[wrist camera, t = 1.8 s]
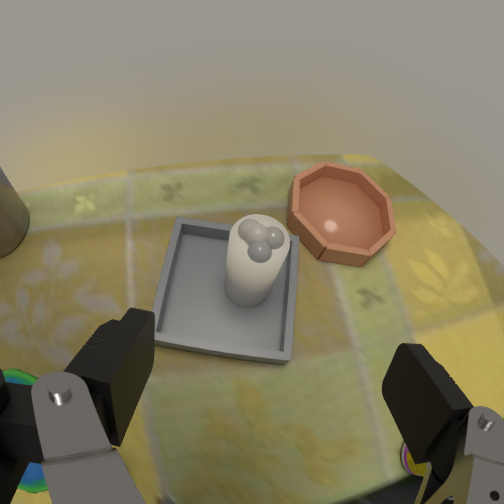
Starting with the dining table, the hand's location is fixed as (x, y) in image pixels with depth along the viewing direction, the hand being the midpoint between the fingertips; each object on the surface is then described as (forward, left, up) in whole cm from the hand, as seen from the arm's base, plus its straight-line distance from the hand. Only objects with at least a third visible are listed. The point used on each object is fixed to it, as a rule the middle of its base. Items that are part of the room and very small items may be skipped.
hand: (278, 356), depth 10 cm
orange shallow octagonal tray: (+11, +24, -23) cm, 35 cm away
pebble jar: (0, +12, -23) cm, 25 cm away
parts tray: (-2, +11, -23) cm, 26 cm away
